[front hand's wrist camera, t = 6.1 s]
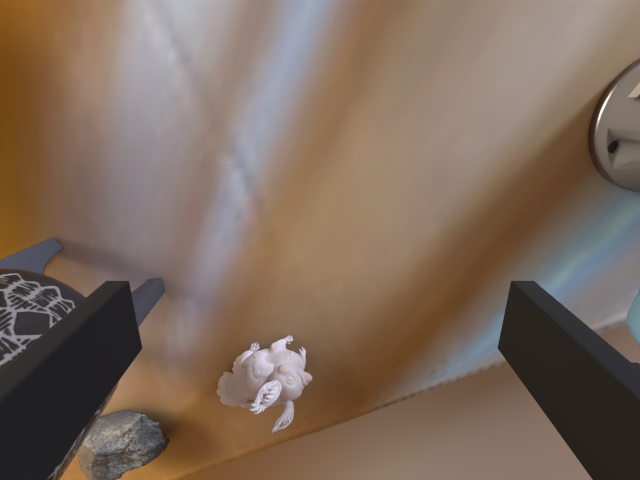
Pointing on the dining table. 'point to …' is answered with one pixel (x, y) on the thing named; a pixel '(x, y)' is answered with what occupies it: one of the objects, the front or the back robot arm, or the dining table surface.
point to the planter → (49, 312)
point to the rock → (120, 445)
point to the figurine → (266, 380)
